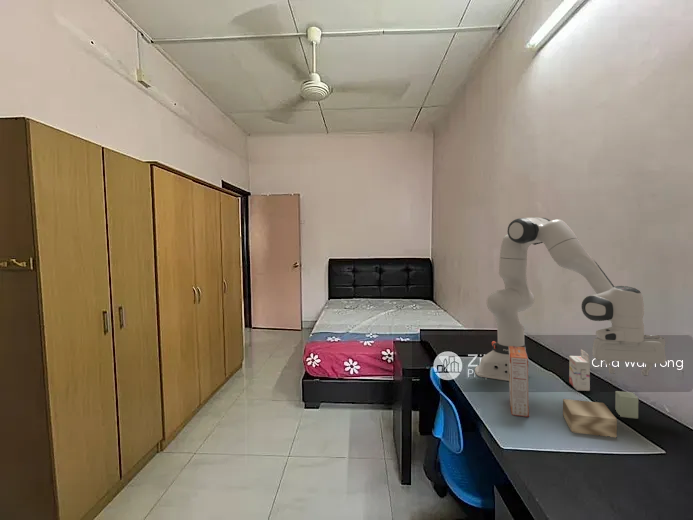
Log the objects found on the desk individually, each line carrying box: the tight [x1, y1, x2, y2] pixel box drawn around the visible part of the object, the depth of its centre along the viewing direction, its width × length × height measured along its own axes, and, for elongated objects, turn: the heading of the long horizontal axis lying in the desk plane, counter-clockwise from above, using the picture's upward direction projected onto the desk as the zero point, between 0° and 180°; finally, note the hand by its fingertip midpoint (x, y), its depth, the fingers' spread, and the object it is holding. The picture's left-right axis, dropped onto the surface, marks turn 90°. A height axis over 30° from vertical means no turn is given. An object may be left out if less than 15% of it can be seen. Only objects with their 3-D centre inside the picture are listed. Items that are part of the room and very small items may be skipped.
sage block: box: [614, 390, 639, 419], centre depth 128 cm, size 5×5×7 cm
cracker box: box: [508, 346, 530, 418], centre depth 135 cm, size 14×6×21 cm, turn 159°
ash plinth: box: [562, 398, 618, 438], centre depth 121 cm, size 12×12×6 cm
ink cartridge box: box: [568, 349, 591, 392], centre depth 153 cm, size 9×5×15 cm, turn 168°
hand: (628, 374), depth 128 cm, fingers open, 8 cm apart
